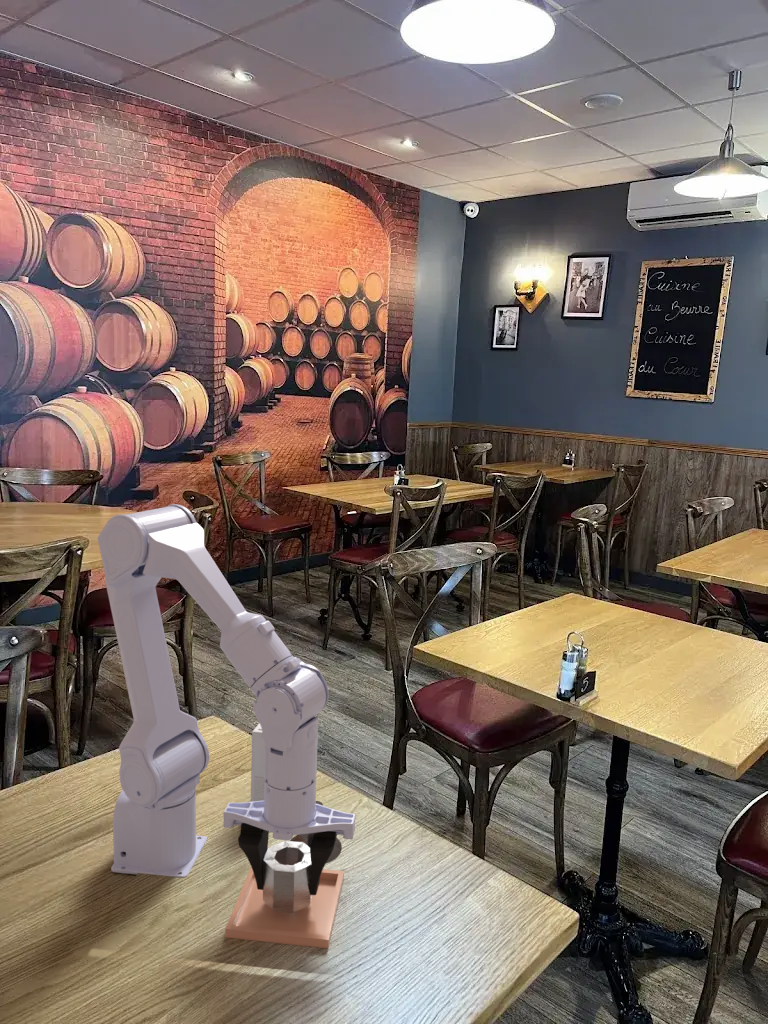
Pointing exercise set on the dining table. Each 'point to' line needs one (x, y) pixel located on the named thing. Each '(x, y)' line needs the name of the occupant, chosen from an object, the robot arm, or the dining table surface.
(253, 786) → the skincare box
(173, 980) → the dining table surface
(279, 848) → the octagonal pencil cup
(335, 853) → the stand
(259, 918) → the tray
